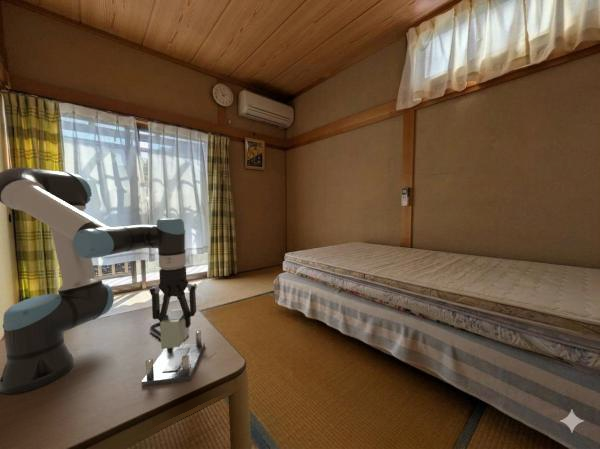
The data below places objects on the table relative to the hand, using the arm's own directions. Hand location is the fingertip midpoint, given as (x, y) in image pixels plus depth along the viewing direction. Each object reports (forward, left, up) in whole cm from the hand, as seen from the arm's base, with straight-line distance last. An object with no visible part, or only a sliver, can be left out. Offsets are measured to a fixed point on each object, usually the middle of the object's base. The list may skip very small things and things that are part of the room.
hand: (176, 337), depth 77 cm
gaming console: (-10, +21, -10) cm, 25 cm away
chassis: (0, 0, -9) cm, 9 cm away
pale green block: (0, 0, 0) cm, 0 cm away
